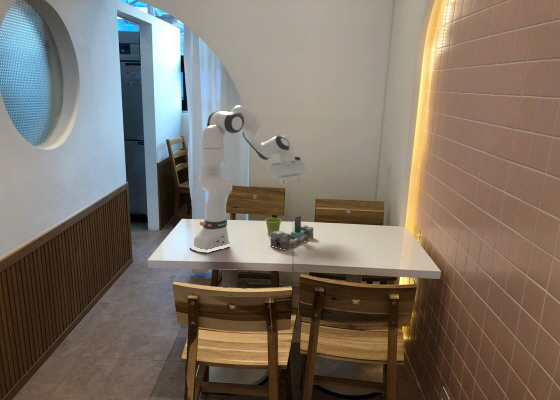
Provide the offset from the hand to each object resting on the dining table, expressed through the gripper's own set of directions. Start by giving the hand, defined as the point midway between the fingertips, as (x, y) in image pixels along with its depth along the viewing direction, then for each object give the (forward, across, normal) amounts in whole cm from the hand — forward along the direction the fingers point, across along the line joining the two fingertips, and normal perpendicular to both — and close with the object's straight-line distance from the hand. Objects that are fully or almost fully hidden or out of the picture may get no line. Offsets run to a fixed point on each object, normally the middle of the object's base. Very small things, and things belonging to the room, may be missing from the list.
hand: (291, 182), depth 265 cm
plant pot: (+25, -14, +14) cm, 32 cm away
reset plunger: (+37, -10, -5) cm, 38 cm away
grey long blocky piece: (+35, -4, +3) cm, 35 cm away
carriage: (+31, -1, +5) cm, 32 cm away
